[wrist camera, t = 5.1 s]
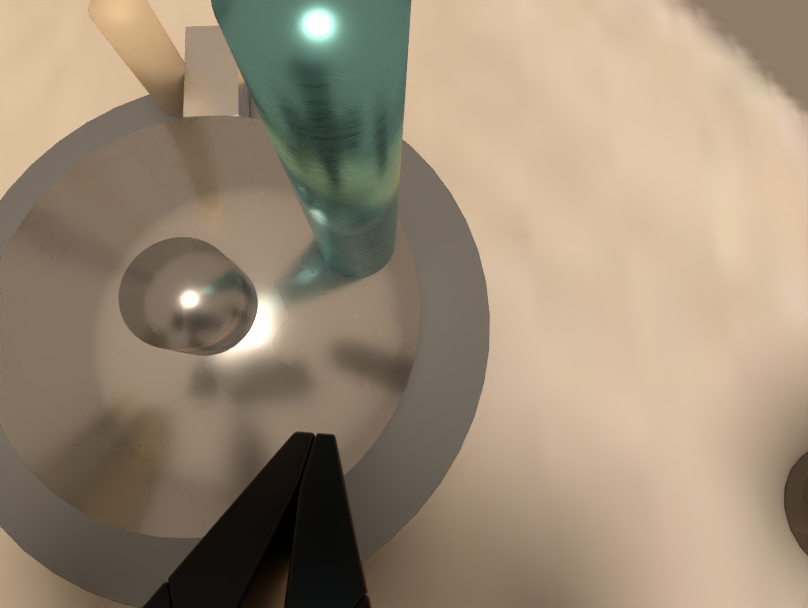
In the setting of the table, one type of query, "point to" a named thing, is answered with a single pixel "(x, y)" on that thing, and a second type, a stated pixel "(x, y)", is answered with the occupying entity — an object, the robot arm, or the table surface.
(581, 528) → the table surface
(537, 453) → the table surface
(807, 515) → the beverage cup
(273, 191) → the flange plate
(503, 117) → the table surface
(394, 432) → the turntable base
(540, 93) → the table surface
